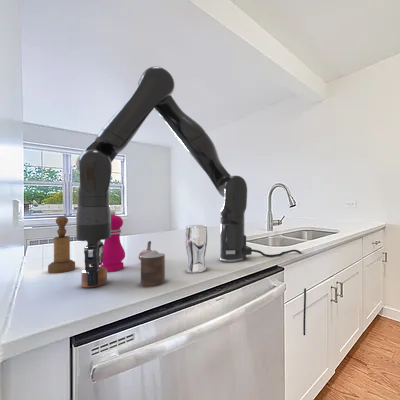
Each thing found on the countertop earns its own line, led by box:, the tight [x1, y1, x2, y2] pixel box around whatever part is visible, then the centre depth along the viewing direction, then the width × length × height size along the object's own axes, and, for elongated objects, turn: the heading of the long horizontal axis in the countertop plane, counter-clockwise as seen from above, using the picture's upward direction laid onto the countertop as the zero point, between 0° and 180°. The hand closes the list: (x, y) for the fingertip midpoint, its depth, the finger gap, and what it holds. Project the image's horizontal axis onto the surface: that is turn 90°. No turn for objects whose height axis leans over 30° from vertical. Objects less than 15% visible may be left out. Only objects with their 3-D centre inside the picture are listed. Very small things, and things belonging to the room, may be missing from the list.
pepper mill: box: [100, 210, 126, 273], centre depth 86 cm, size 7×7×20 cm
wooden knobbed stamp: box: [47, 215, 76, 274], centre depth 84 cm, size 7×6×18 cm
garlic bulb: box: [138, 240, 159, 262], centre depth 95 cm, size 8×7×8 cm
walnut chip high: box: [140, 252, 166, 273], centre depth 73 cm, size 6×6×4 cm
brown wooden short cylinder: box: [80, 267, 108, 288], centre depth 71 cm, size 6×6×4 cm
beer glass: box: [184, 224, 208, 274], centre depth 85 cm, size 7×7×15 cm
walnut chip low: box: [140, 268, 166, 288], centre depth 73 cm, size 6×6×4 cm
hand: (94, 281), depth 71 cm, fingers closed on brown wooden short cylinder, 5 cm apart
